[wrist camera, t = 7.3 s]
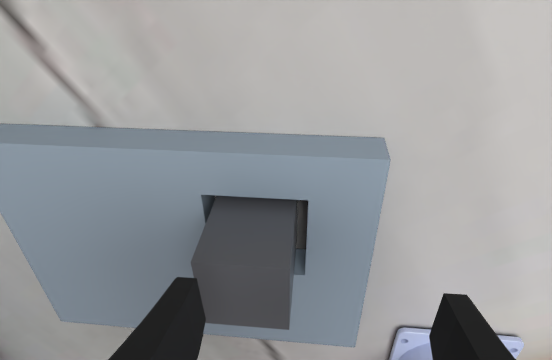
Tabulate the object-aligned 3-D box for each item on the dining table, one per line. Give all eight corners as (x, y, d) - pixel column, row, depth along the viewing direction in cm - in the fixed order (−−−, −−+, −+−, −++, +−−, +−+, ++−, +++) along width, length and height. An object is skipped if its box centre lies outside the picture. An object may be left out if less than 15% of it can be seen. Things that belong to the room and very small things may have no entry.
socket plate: (352, 320, 25) (355, 347, 24) (76, 297, 27) (61, 321, 25) (384, 137, 17) (390, 159, 16) (-8, 123, 19) (-39, 141, 18)
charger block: (296, 238, 22) (289, 329, 17) (229, 234, 22) (203, 322, 17) (298, 182, 19) (289, 269, 14) (223, 178, 20) (190, 262, 15)
